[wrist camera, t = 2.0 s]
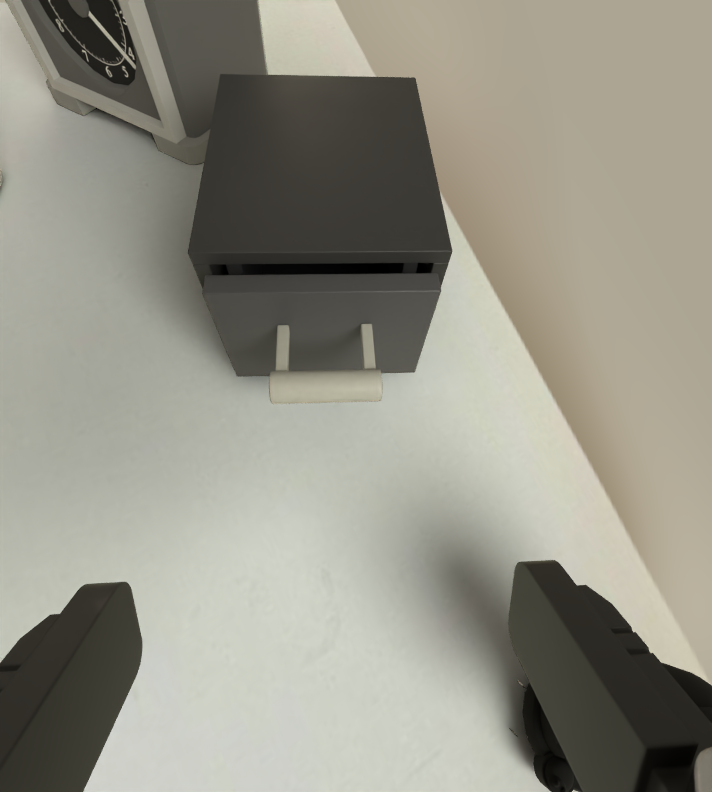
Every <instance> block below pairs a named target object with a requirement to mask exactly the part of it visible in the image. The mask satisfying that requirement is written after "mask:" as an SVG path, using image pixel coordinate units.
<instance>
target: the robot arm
mask: <svg viewBox="0 0 712 792" xmlns="http://www.w3.org/2000/svg"><path fill="white" fill-rule="evenodd" d="M508 624H509V633H510V638H511V642H512V645H513V648H514V651H515V653H516V655H517V657H518V659H519V661H520V663H521V665H522V667H523V669H524V672H525V674H526V676H527V678H528V680H529V682H530V684H531V686H532V688H533V690H534V692H535V694H536V696H537V698H538V700H539V703H540V705H541V707H542V709H543V711H544V713H545V715H546V717H547V719H548V721H549V723H550V725H551V727H552V729H553V731H554V734H555V736H556V738H557V740H558V742H559V744H560V746H561V748H562V750H563V752H564V754H565V756H566V758H567V760H568V762H569V765H570V767H571V769H572V771H573V773H574V775H575V777H576V779H577V781H578V783H579V785H580V787H581V789H582V791H583V792H712V723H711V722H710V721H709V720H708V718H707V717H706V716H705V715H704V714H703V712H702V711H701V710H700V709H699V708H698V706H697V705H696V704H695V703H694V702H693V700H692V699H691V698H690V697H689V696H688V694H687V693H686V692H685V691H684V690H683V688H682V687H681V686H680V685H679V684H678V682H677V681H676V680H675V679H674V678H673V677H672V675H671V674H670V673H669V672H668V671H667V669H666V668H665V667H664V666H663V665H662V663H661V662H660V661H659V660H658V659H657V657H656V656H655V655H654V654H653V653H650V652H649V649H648V647H647V645H646V644H645V643H644V642H643V641H642V639H641V638H640V637H639V636H638V635H637V633H636V632H633V631H632V627H631V626H630V625H629V624H628V623H627V621H626V620H625V619H624V618H623V617H622V615H621V614H620V613H619V612H618V611H617V609H616V608H615V607H614V606H613V605H612V604H611V603H610V602H609V601H607V600H606V599H604V598H603V597H602V596H600V595H599V594H598V593H596V592H595V591H593V590H592V589H591V588H589V587H588V586H587V585H579V586H577V585H576V584H575V583H574V581H573V580H572V579H571V578H570V576H569V575H568V574H567V572H566V571H565V570H564V569H563V567H562V566H561V565H560V564H559V563H558V562H557V561H555V560H546V561H527V562H518V563H517V565H516V567H515V571H514V579H513V587H512V595H511V602H510V610H509V619H508ZM141 656H142V637H141V633H140V628H139V623H138V618H137V614H136V609H135V604H134V599H133V595H132V590H131V587H130V585H129V584H128V583H127V582H115V583H96V584H85V585H84V586H82V587H81V588H80V589H79V590H78V591H77V592H76V594H75V595H74V596H73V598H72V599H71V600H70V602H69V603H68V604H67V605H66V607H65V608H64V609H63V611H62V612H61V613H60V614H54V615H49V616H48V617H47V618H46V619H44V620H43V621H42V622H41V623H39V624H38V625H37V626H35V627H34V628H33V629H32V630H30V631H29V632H28V633H27V634H25V635H24V636H23V637H22V638H20V639H19V641H18V642H17V643H16V644H15V646H14V647H13V648H12V649H11V650H10V652H9V653H8V654H7V655H6V657H5V658H4V659H3V660H2V662H1V663H0V792H83V791H84V789H85V786H86V784H87V782H88V780H89V778H90V775H91V773H92V771H93V769H94V767H95V765H96V762H97V760H98V758H99V756H100V754H101V752H102V749H103V747H104V745H105V743H106V741H107V739H108V736H109V734H110V732H111V730H112V728H113V725H114V723H115V721H116V719H117V717H118V715H119V712H120V710H121V708H122V706H123V704H124V702H125V699H126V697H127V695H128V693H129V691H130V689H131V686H132V684H133V682H134V680H135V678H136V675H137V673H138V670H139V666H140V662H141Z"/></svg>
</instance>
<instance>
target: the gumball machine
mask: <svg viewBox="0 0 712 792" xmlns="http://www.w3.org/2000/svg"><path fill="white" fill-rule="evenodd" d="M662 665H663V666H664V667H665V668H666V669H667V671H668V672H669V673H670V674H671V675H672V677H673V678H674V679H675V680H676V681H677V682H678V684H679V685H680V686H681V687H682V688H683V690H684V691H685V692H686V693H687V694H688V696H689V697H690V698H691V699H692V700H693V702H694V703H695V704H696V705H697V706H698V708H699V709H700V710H701V711H702V712H703V714H704V715H705V716H706V717H707V718H708V720H709V721H710V722H711V723H712V685H710V684H709V683H707V682H706V681H704V680H703V679H701V678H700V677H698V676H696V675H694V674H692V673H690V672H687V671H684V670H681V669H679V668H676V667H673V666H670V665H667V664H664V663H662ZM516 681H517V680H516ZM517 682H518V683H519V684H520V685H521V686H522V687H523V688H525V687H524V685H523V684H522V683H521V682H520V681H517ZM525 689H526V688H525ZM523 718H524V724H525V731H526V735H527V737H528V740H529V742H530V745H531V747H532V749H533V751H534V753H535V757H534V763H533V765H534V771H535V774H536V776H537V778H538V779H539V781H540V782H541V783H542V784H543V785H544V786H545V787H547V788H548V789H549V790H550V791H551V792H572V791H573V790H575V791H578V792H583V791H582V789H581V787H580V785H579V783H578V781H577V779H576V777H575V775H574V773H573V771H572V769H571V767H570V765H569V762H568V760H567V758H566V756H565V754H564V752H563V750H562V748H561V746H560V744H559V742H558V740H557V738H556V736H555V734H554V731H553V729H552V727H551V725H550V723H549V721H548V719H547V717H546V715H545V713H544V711H543V709H542V707H541V705H540V703H539V700H538V698H537V696H536V694H535V692H534V690H533V688H532V686H531V684H530V682H529V684H528V687H527V689H526V691H525V695H524V705H523ZM509 729H510V728H509ZM510 730H511V729H510ZM511 731H512V730H511ZM512 732H513V731H512ZM513 733H514V732H513ZM514 734H515V733H514ZM515 735H516V734H515ZM516 736H517V735H516ZM517 737H518V736H517Z"/></svg>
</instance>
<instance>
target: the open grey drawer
mask: <svg viewBox="0 0 712 792" xmlns="http://www.w3.org/2000/svg"><path fill="white" fill-rule="evenodd" d="M417 266H418V263H341V264H226V267H227V270H228V274H229V275H206V276H205V279H204V286H203V293H202V294H203V296H204V299H205V301H206V304H207V306H208V308H209V311H210V313H211V315H212V318H213V320H214V323H215V325H216V327H217V330H218V332H219V334H220V337H221V339H222V342H223V344H224V346H225V349H226V351H227V353H228V356H229V358H230V361H231V363H232V365H233V368H234V370H235V372H236V375H237V376H270V377H269V394H270V400H271V403H272V404H290V403H327V402H363V401H381V399H382V374H381V373H407V372H415V369H416V366H417V363H418V360H419V357H420V354H421V351H422V348H423V345H424V342H425V339H426V336H427V332H428V329H429V326H430V323H431V320H432V317H433V314H434V311H435V308H436V305H437V302H438V298H439V295H440V292H441V288H440V283H439V278H438V274H437V273H416V271H417Z"/></svg>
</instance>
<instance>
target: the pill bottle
mask: <svg viewBox="0 0 712 792" xmlns="http://www.w3.org/2000/svg"><path fill="white" fill-rule="evenodd" d="M1 184H2V172H1V168H0V187H1Z"/></svg>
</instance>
